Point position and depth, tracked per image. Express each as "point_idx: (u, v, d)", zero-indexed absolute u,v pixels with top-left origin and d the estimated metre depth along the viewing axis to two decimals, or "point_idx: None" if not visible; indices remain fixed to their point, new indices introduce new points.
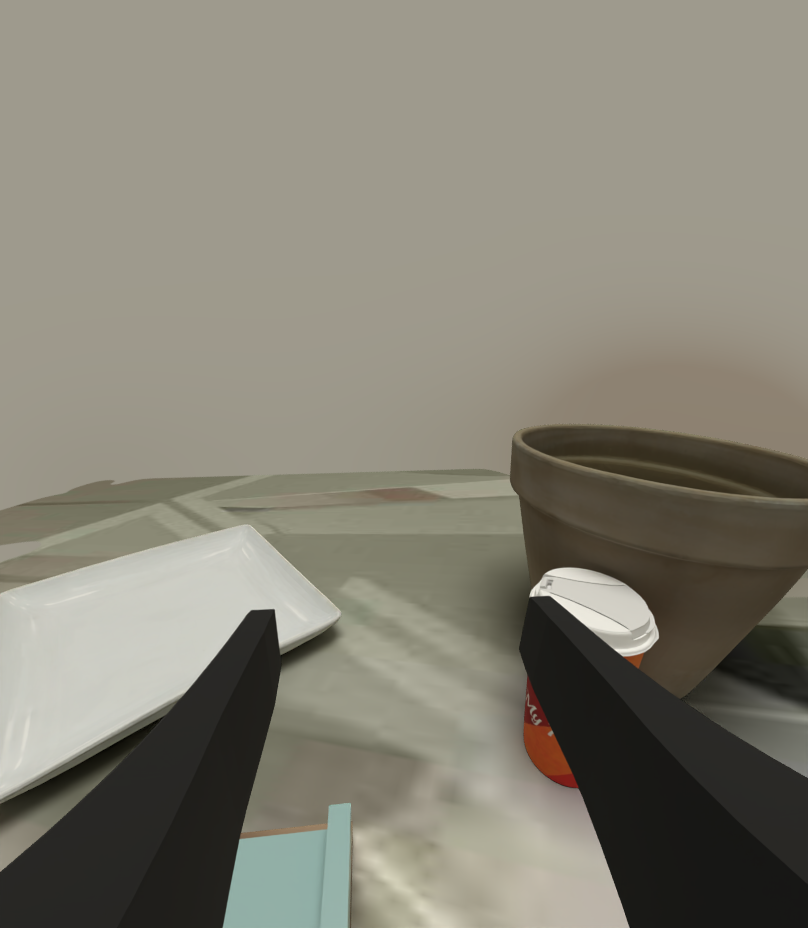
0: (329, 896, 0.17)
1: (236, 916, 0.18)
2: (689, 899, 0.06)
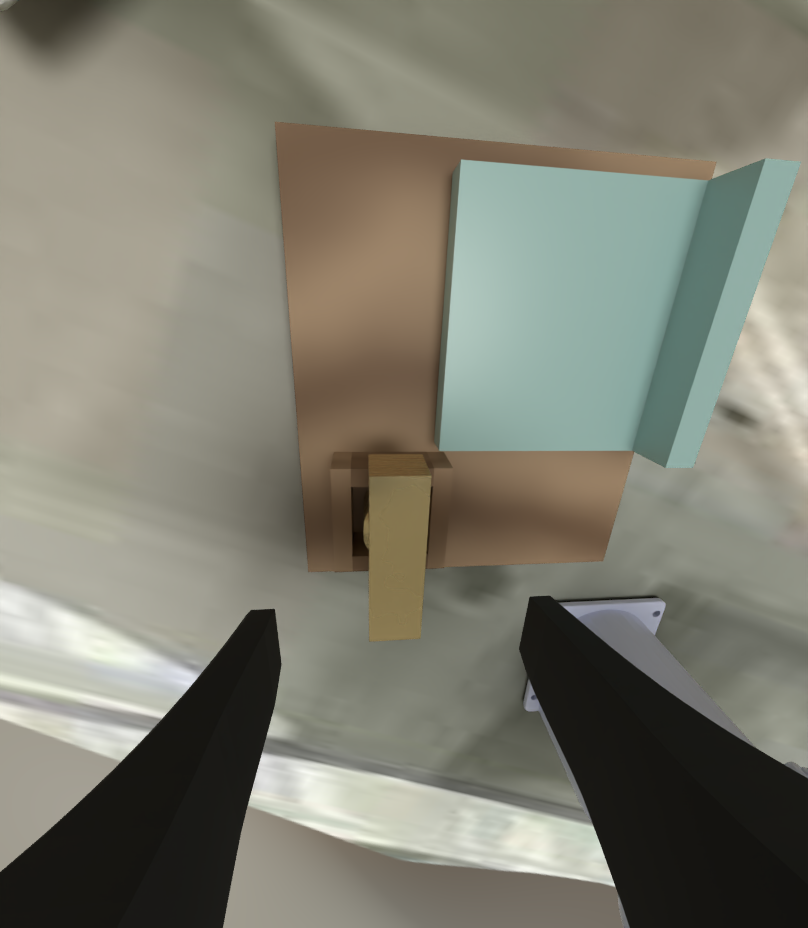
0: (730, 294, 0.12)
1: (575, 272, 0.14)
2: (689, 898, 0.06)
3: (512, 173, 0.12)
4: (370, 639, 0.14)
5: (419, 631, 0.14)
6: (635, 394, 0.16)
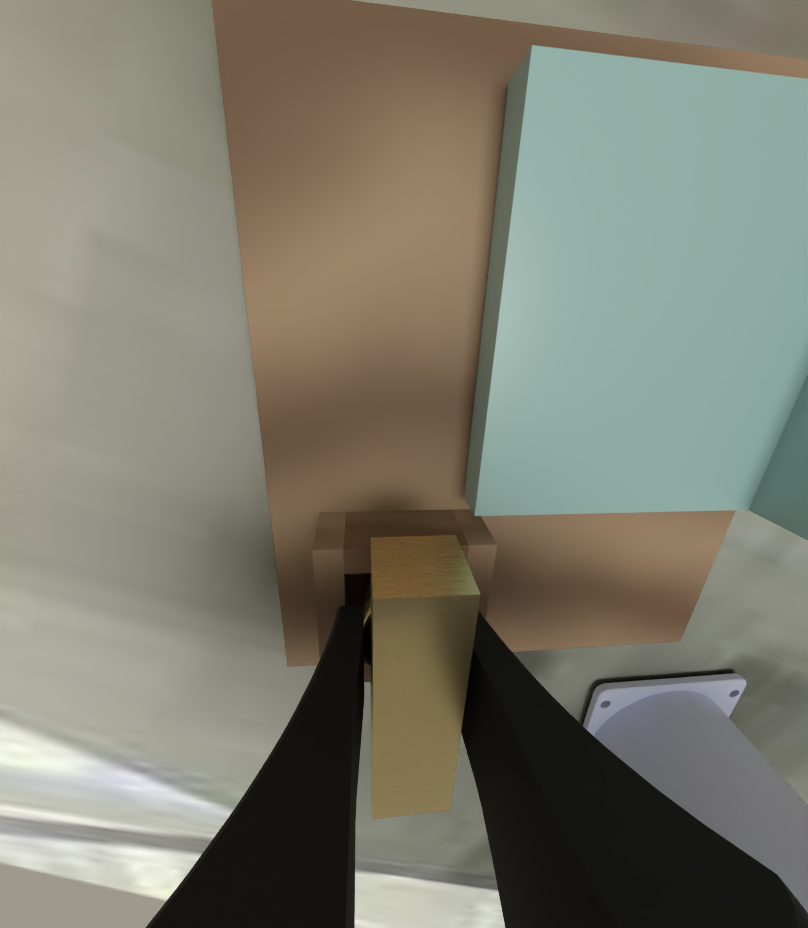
0: None
1: (699, 248, 0.09)
2: (542, 921, 0.05)
3: (617, 73, 0.07)
4: (373, 816, 0.09)
5: (449, 801, 0.09)
6: (764, 432, 0.11)
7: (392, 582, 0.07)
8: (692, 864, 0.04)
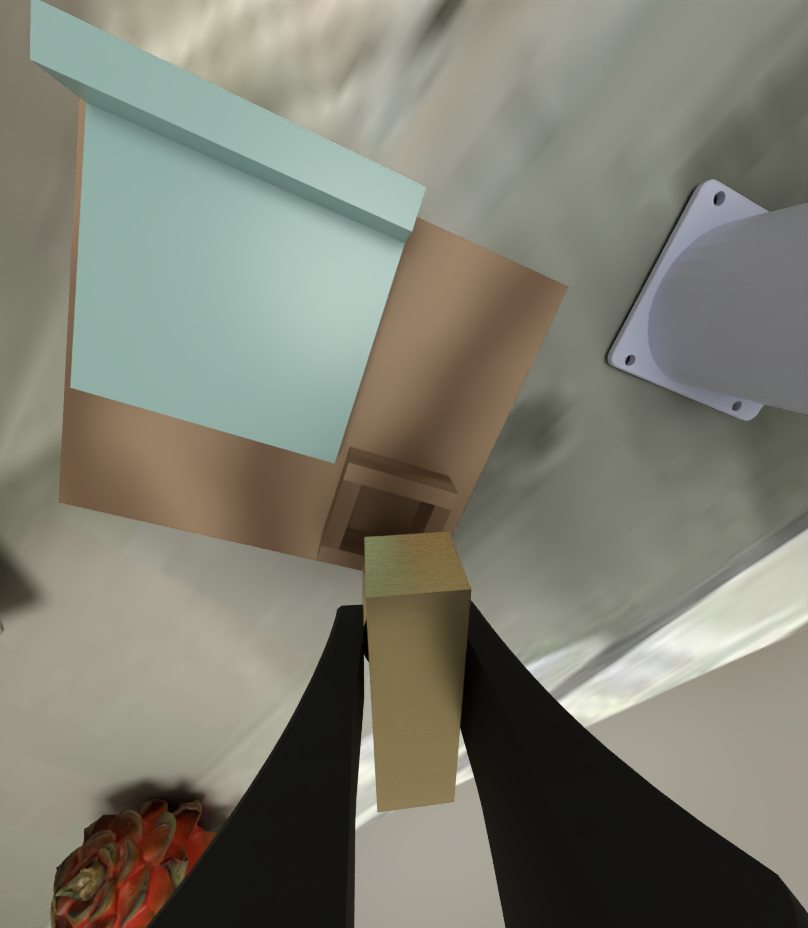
0: (192, 117, 0.10)
1: (177, 291, 0.13)
2: (542, 921, 0.05)
3: (81, 342, 0.13)
4: (378, 809, 0.09)
5: (452, 793, 0.10)
6: (330, 230, 0.13)
7: (385, 580, 0.07)
8: (692, 865, 0.04)
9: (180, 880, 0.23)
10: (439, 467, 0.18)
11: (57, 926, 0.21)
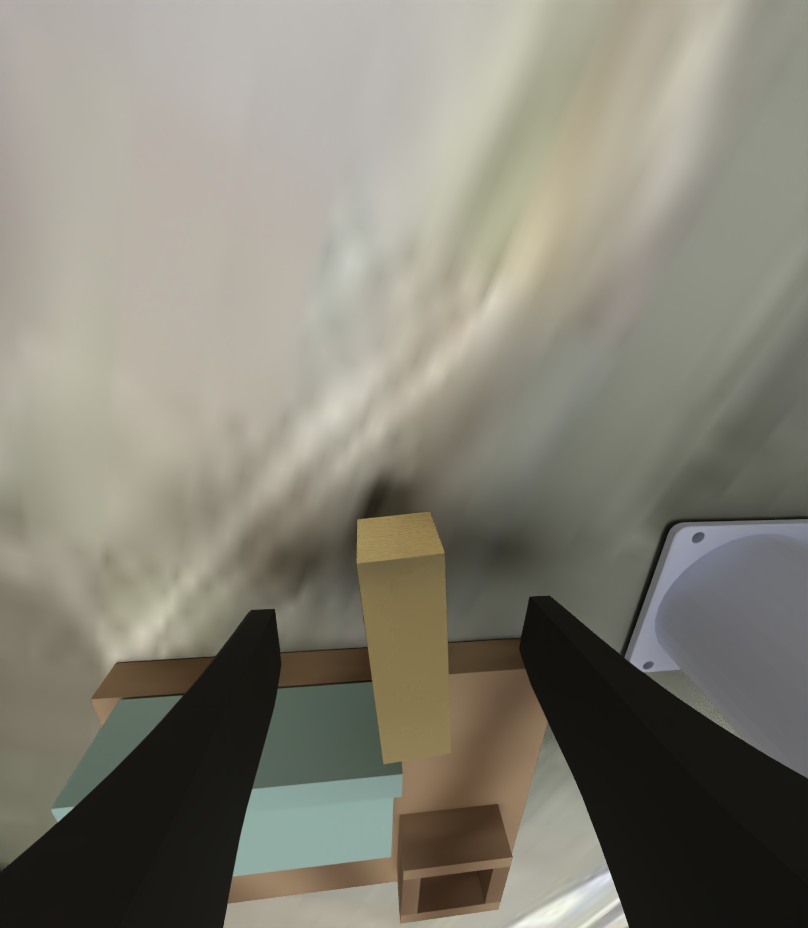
0: None
1: None
2: (688, 899, 0.06)
3: None
4: (384, 761, 0.11)
5: (448, 745, 0.11)
6: None
7: (373, 550, 0.09)
8: None
9: None
10: (487, 801, 0.19)
11: None
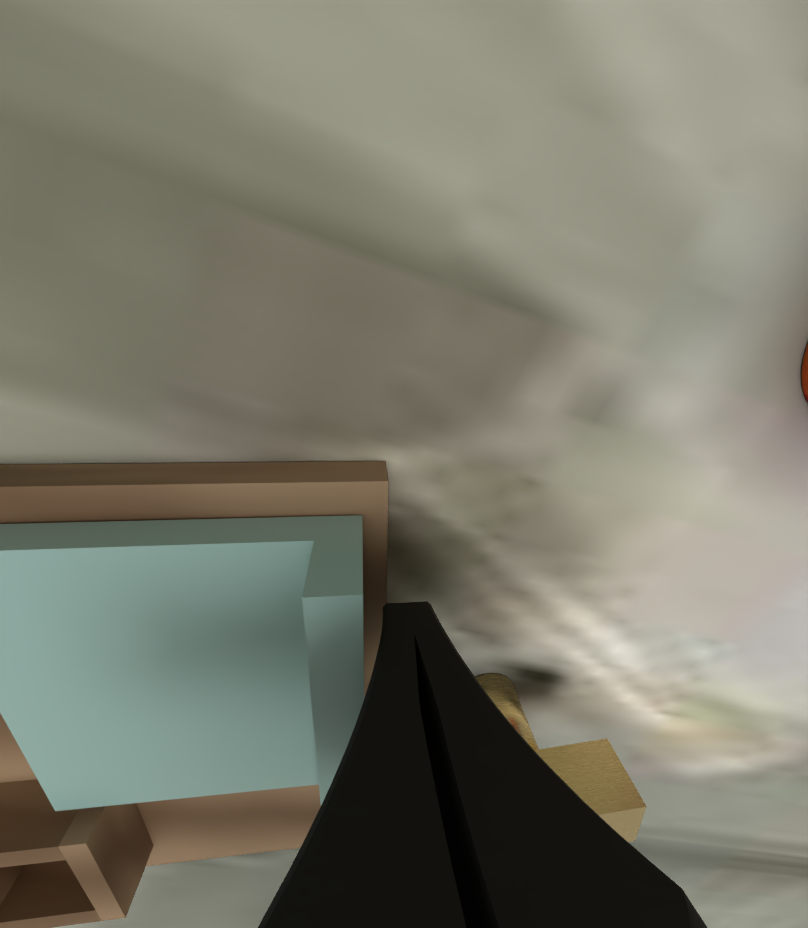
0: (327, 720, 0.09)
1: (159, 642, 0.10)
2: None
3: (3, 560, 0.09)
4: None
5: None
6: (309, 737, 0.12)
7: None
8: (595, 876, 0.04)
9: None
10: (158, 836, 0.15)
11: None
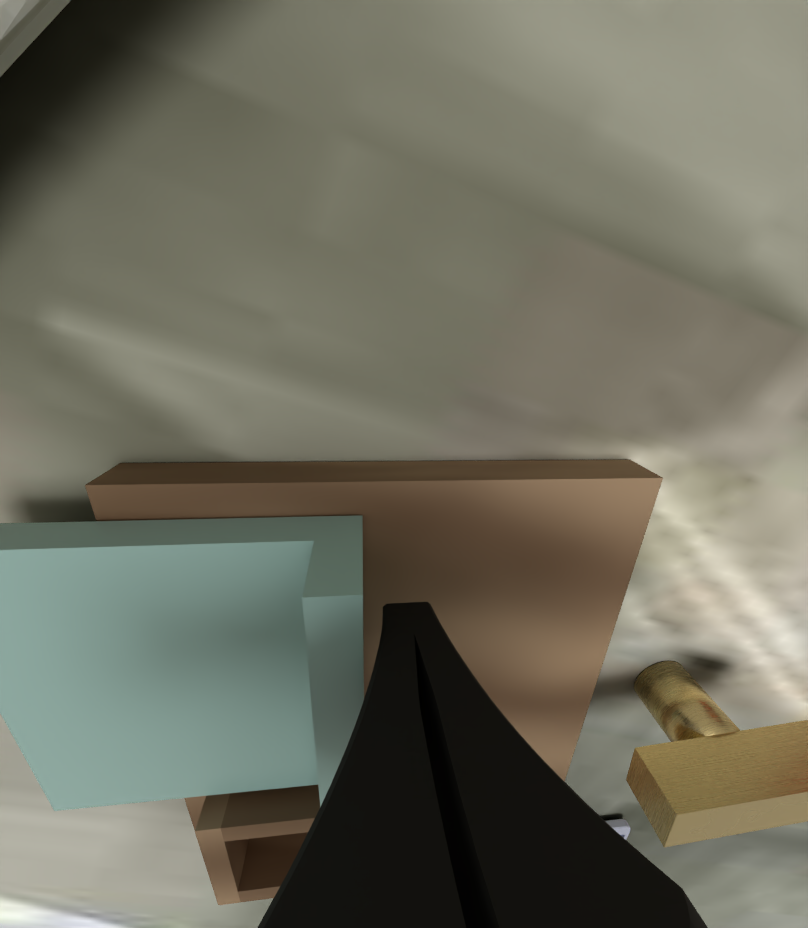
0: (326, 720, 0.09)
1: (158, 642, 0.10)
2: None
3: (3, 559, 0.09)
4: (679, 815, 0.12)
5: (674, 844, 0.13)
6: (309, 737, 0.12)
7: None
8: (597, 878, 0.04)
9: None
10: None
11: None
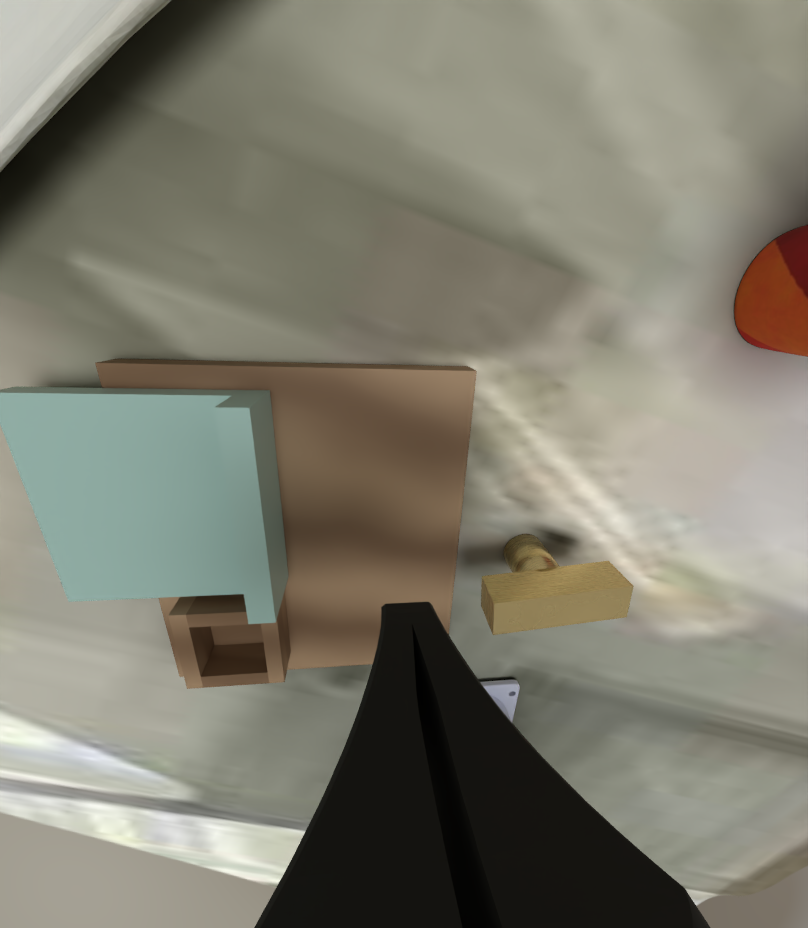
0: (237, 500, 0.15)
1: (137, 466, 0.16)
2: None
3: (41, 399, 0.14)
4: (496, 604, 0.18)
5: (500, 633, 0.18)
6: None
7: None
8: (599, 876, 0.04)
9: None
10: (295, 643, 0.22)
11: None
